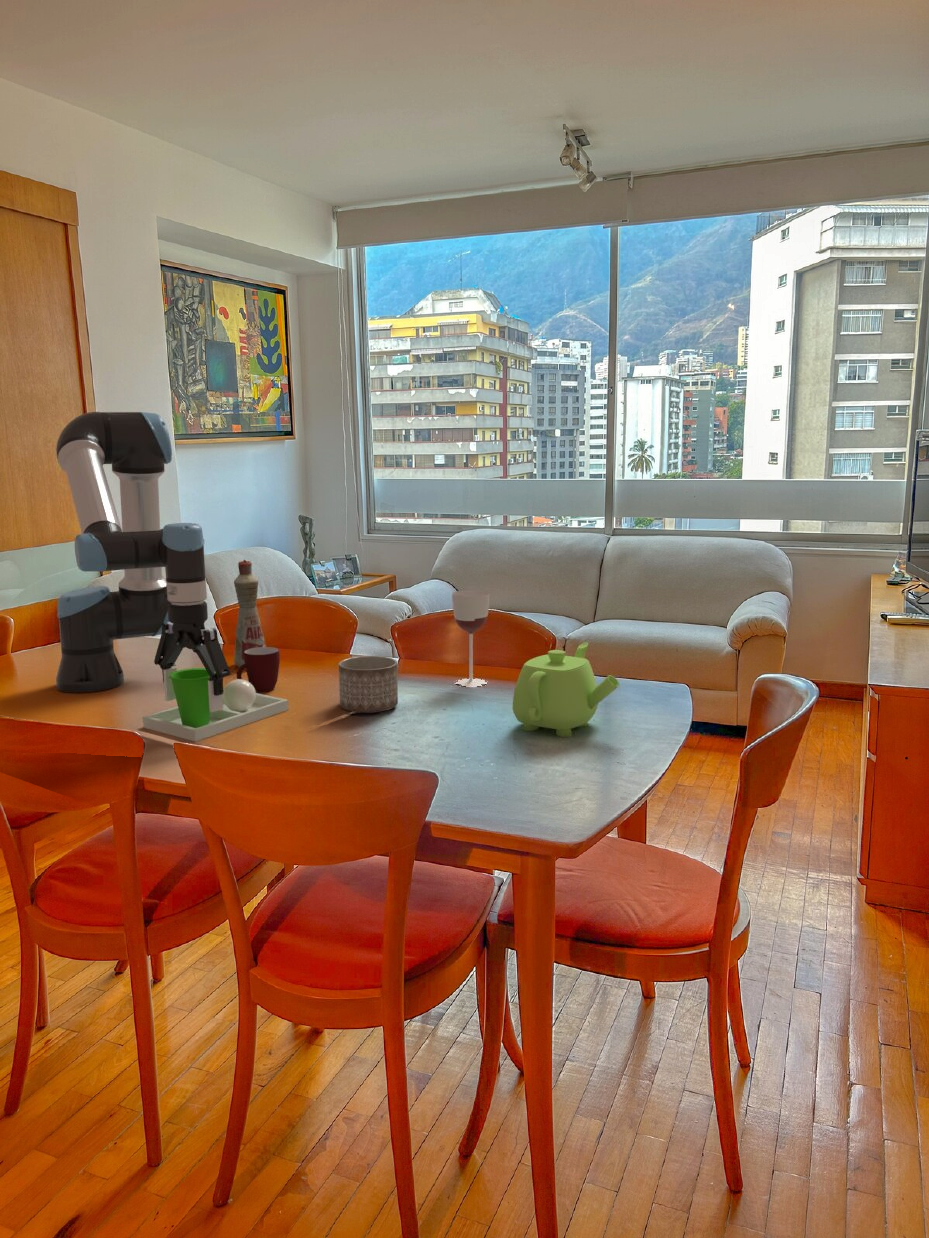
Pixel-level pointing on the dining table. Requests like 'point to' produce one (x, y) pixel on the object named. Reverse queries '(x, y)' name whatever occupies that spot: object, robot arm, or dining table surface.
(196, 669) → the cup
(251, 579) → the bottle
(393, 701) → the planter
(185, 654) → the dining table surface
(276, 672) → the mug
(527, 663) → the teapot
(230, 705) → the white ball
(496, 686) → the dining table surface
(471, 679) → the wineglass
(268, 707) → the tray
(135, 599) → the robot arm
